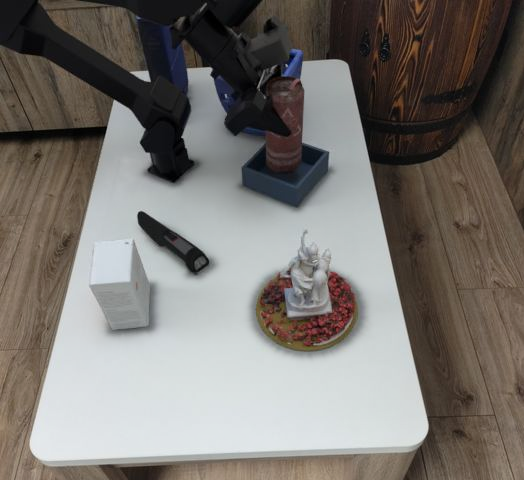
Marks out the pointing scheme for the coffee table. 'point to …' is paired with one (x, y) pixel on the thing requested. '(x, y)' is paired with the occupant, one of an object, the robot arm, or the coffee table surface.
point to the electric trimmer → (173, 243)
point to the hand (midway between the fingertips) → (292, 124)
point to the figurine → (307, 303)
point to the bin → (286, 175)
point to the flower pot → (224, 88)
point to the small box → (120, 284)
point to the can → (291, 112)
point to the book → (162, 54)
